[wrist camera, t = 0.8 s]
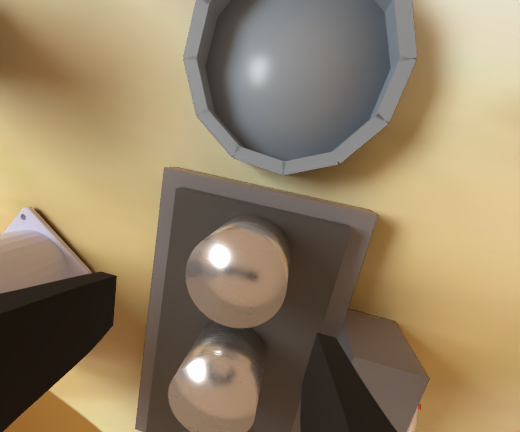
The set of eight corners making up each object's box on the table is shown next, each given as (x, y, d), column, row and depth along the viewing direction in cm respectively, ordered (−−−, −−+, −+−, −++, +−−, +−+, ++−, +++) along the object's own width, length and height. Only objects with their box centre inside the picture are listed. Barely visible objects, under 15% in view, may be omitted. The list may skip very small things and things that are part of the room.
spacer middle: (228, 392, 18) (209, 454, 14) (183, 343, 18) (151, 391, 14) (280, 360, 17) (274, 417, 13) (232, 306, 17) (212, 348, 13)
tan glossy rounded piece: (248, 303, 17) (231, 345, 13) (198, 246, 16) (165, 272, 12) (307, 259, 15) (309, 291, 11) (253, 197, 15) (237, 209, 11)
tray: (282, 207, 18) (279, 213, 16) (165, 71, 17) (146, 58, 15) (443, 74, 15) (467, 58, 13) (307, -98, 14) (308, -145, 12)
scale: (345, 477, 22) (359, 568, 17) (147, 409, 24) (107, 472, 19) (443, 225, 16) (502, 251, 11) (177, 167, 18) (132, 168, 14)
